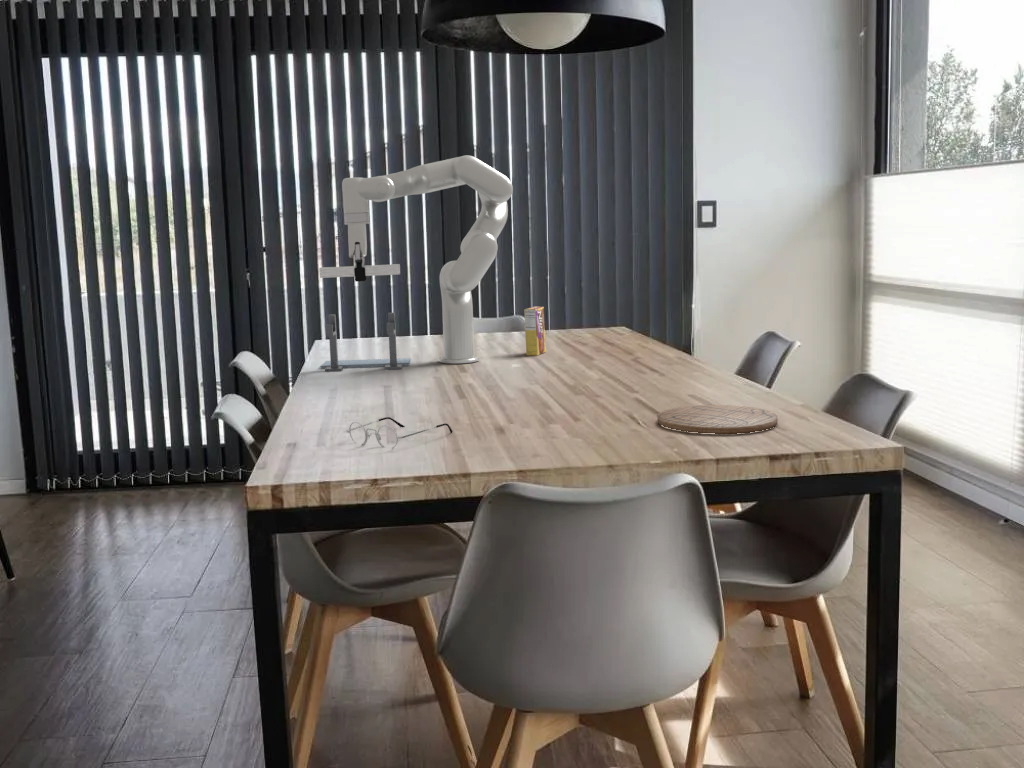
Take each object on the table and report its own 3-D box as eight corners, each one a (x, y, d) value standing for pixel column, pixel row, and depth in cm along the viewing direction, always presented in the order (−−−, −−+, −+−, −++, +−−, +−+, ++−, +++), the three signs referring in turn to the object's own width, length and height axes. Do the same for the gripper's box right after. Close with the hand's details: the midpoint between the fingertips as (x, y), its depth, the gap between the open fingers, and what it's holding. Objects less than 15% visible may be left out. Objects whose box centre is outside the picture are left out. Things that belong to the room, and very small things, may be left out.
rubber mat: (326, 363, 326) (326, 360, 326) (411, 361, 327) (410, 358, 327) (321, 368, 315) (321, 365, 315) (409, 365, 316) (408, 362, 316)
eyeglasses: (340, 445, 208) (339, 420, 207) (399, 428, 223) (398, 405, 222) (400, 453, 199) (399, 427, 198) (458, 435, 214) (457, 411, 213)
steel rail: (320, 277, 310) (320, 267, 310) (400, 273, 312) (399, 264, 311) (320, 277, 308) (319, 267, 307) (400, 274, 309) (399, 264, 309)
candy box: (533, 352, 341) (532, 306, 338) (546, 352, 339) (545, 306, 337) (525, 355, 332) (523, 308, 330) (537, 355, 331) (536, 308, 328)
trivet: (694, 409, 234) (694, 401, 234) (797, 420, 219) (797, 411, 218) (635, 428, 215) (634, 419, 215) (743, 442, 200) (743, 432, 199)
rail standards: (327, 368, 314) (324, 314, 312) (402, 366, 315) (399, 312, 313) (323, 373, 305) (319, 317, 302) (400, 371, 306) (397, 314, 303)
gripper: (346, 219, 315) (350, 279, 318) (342, 219, 299) (346, 283, 302) (370, 218, 315) (374, 278, 318) (367, 218, 299) (371, 281, 302)
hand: (360, 280), depth 310 cm, fingers closed on steel rail, 2 cm apart
